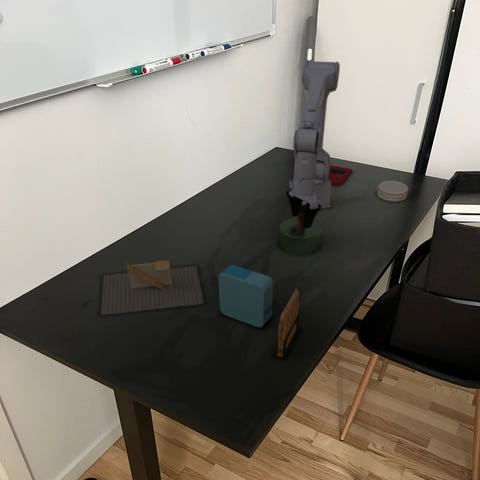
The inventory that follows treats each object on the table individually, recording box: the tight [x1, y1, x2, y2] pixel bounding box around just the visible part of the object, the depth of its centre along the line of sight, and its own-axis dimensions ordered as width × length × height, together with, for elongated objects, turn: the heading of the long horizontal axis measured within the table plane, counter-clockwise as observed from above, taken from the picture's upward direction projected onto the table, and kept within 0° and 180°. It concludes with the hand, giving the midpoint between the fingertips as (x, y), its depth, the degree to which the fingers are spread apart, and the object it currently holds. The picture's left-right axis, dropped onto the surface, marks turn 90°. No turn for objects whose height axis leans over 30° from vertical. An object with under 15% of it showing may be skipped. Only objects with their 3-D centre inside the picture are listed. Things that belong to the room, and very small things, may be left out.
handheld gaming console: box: [328, 164, 353, 187], centre depth 183 cm, size 10×1×15 cm
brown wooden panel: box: [275, 287, 300, 359], centre depth 109 cm, size 11×2×12 cm, turn 157°
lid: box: [279, 212, 323, 239], centre depth 141 cm, size 12×12×5 cm
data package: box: [218, 264, 274, 328], centre depth 116 cm, size 12×4×12 cm, turn 59°
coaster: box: [376, 180, 409, 203], centre depth 170 cm, size 10×10×4 cm
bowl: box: [279, 231, 321, 255], centre depth 144 cm, size 11×11×5 cm
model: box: [126, 260, 174, 291], centre depth 127 cm, size 3×11×8 cm, turn 100°
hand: (301, 221), depth 141 cm, fingers open, 7 cm apart
